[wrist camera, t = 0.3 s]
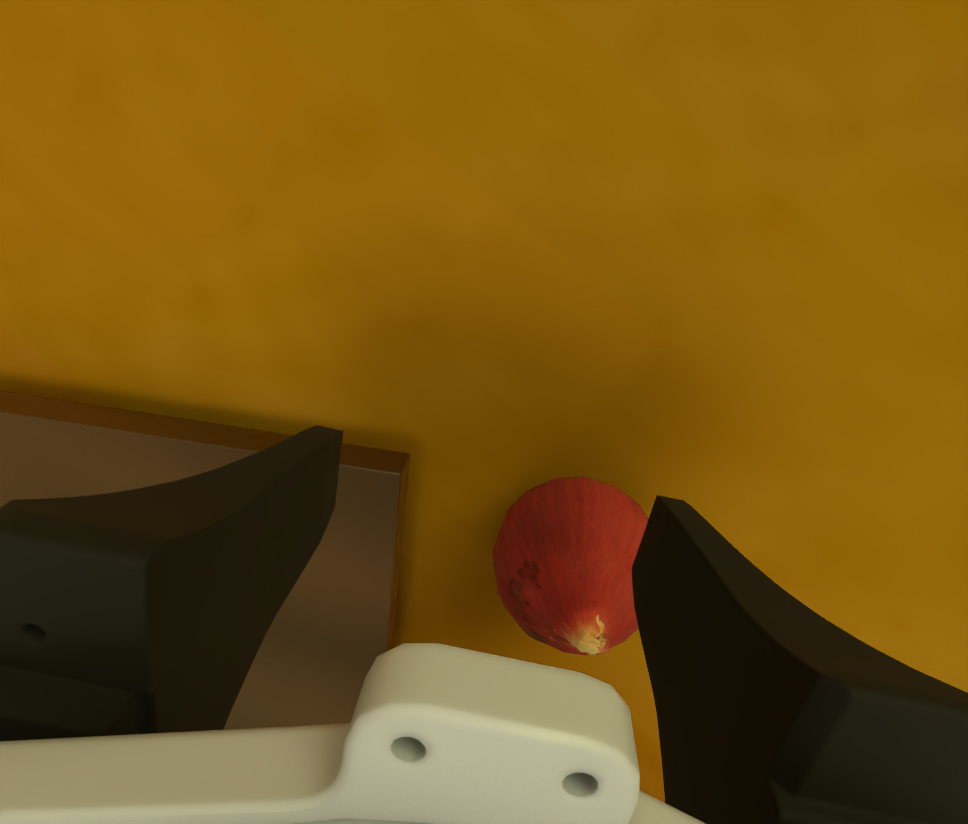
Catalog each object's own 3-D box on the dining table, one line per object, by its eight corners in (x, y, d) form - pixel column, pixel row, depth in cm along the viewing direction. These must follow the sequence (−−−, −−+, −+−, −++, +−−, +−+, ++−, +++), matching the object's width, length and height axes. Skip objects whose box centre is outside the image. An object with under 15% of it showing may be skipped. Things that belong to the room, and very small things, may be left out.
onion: (545, 583, 27) (547, 747, 20) (472, 482, 25) (445, 620, 18) (669, 526, 26) (721, 683, 18) (600, 414, 24) (626, 537, 17)
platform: (391, 707, 31) (377, 763, 28) (-4, 643, 31) (-56, 691, 29) (417, 436, 25) (401, 473, 22) (-74, 361, 25) (-148, 388, 23)
